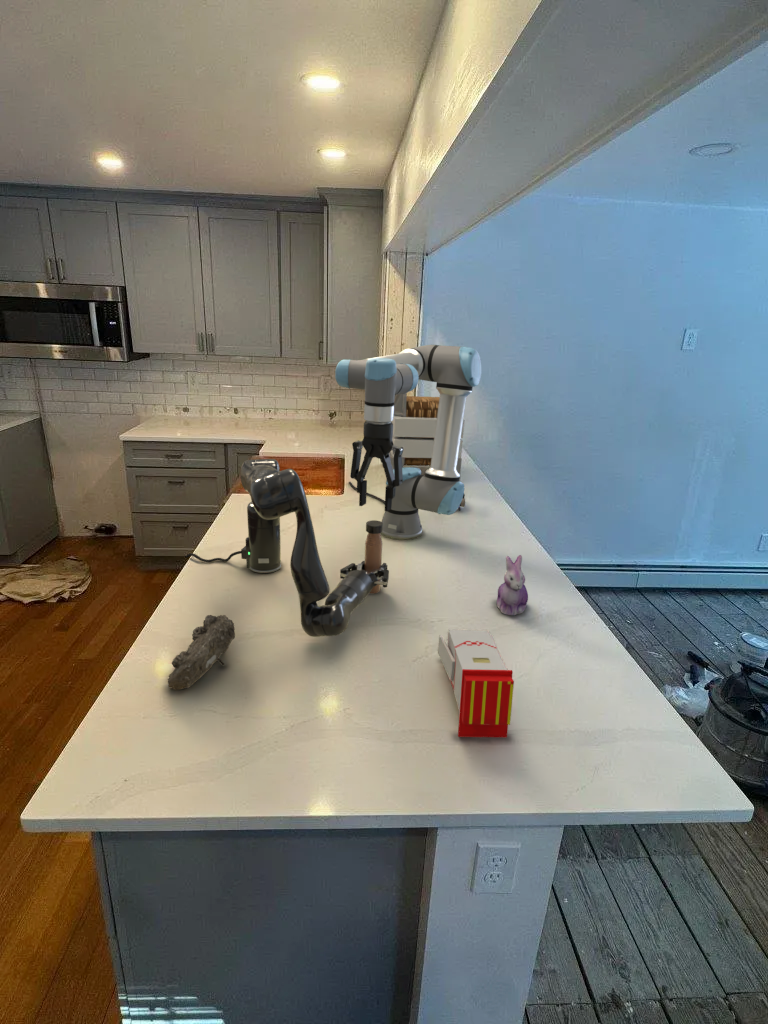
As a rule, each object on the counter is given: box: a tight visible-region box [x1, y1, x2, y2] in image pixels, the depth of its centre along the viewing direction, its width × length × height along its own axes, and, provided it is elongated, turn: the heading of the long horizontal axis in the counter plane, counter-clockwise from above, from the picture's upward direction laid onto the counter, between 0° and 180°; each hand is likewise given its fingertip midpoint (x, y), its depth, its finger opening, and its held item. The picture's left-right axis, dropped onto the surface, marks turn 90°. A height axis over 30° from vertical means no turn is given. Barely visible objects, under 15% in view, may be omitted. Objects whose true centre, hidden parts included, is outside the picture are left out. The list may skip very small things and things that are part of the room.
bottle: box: [364, 532, 383, 594], centre depth 156 cm, size 5×5×20 cm
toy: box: [437, 628, 515, 738], centre depth 117 cm, size 12×13×30 cm
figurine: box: [496, 554, 529, 616], centre depth 150 cm, size 9×10×15 cm
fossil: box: [167, 614, 236, 691], centre depth 122 cm, size 22×10×15 cm
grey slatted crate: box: [389, 392, 465, 482], centre depth 268 cm, size 34×33×41 cm
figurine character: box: [457, 493, 466, 511], centre depth 229 cm, size 7×8×15 cm
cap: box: [365, 520, 383, 534], centre depth 153 cm, size 5×5×2 cm
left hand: (376, 564), depth 160 cm, fingers closed on bottle, 4 cm apart
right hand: (375, 506), depth 151 cm, fingers open, 7 cm apart
